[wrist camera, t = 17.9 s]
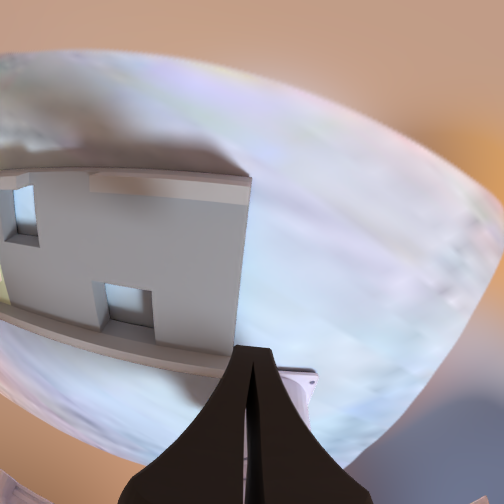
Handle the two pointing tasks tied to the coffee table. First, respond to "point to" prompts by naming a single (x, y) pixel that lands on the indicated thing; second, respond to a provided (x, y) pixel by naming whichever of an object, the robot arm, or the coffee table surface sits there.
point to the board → (128, 261)
